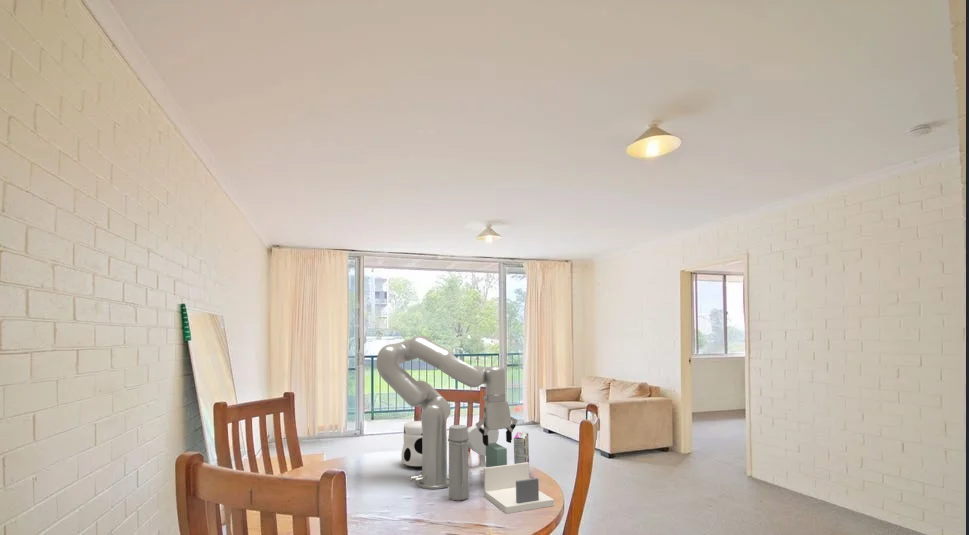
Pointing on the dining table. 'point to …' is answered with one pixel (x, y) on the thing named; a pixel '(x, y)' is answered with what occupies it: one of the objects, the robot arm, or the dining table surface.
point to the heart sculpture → (480, 444)
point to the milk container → (412, 444)
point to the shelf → (514, 488)
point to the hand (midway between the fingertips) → (497, 443)
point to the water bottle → (458, 462)
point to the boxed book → (495, 455)
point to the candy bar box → (521, 448)
